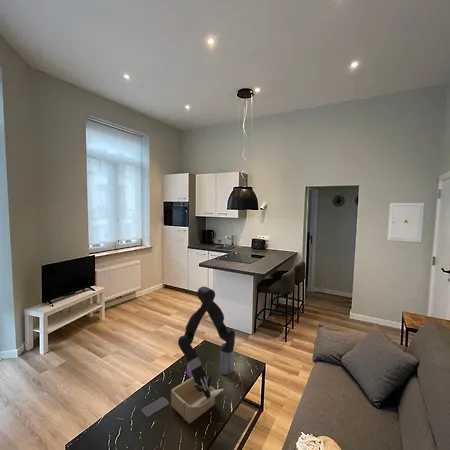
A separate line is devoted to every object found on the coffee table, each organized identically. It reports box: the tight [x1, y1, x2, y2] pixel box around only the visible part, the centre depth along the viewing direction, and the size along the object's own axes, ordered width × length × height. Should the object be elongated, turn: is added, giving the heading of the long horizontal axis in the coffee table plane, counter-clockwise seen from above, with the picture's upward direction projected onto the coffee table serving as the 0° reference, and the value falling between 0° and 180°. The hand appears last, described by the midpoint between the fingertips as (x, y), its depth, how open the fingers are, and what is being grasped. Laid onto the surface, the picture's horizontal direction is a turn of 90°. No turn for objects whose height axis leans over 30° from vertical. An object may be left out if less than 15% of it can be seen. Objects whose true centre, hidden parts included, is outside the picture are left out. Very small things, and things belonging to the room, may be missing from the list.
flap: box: [191, 388, 225, 408], centre depth 147 cm, size 19×9×1 cm
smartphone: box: [141, 396, 169, 418], centre depth 155 cm, size 7×1×15 cm
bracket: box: [186, 364, 193, 379], centre depth 187 cm, size 13×6×7 cm, turn 128°
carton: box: [170, 377, 216, 425], centre depth 157 cm, size 21×19×10 cm
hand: (208, 397), depth 146 cm, fingers closed
